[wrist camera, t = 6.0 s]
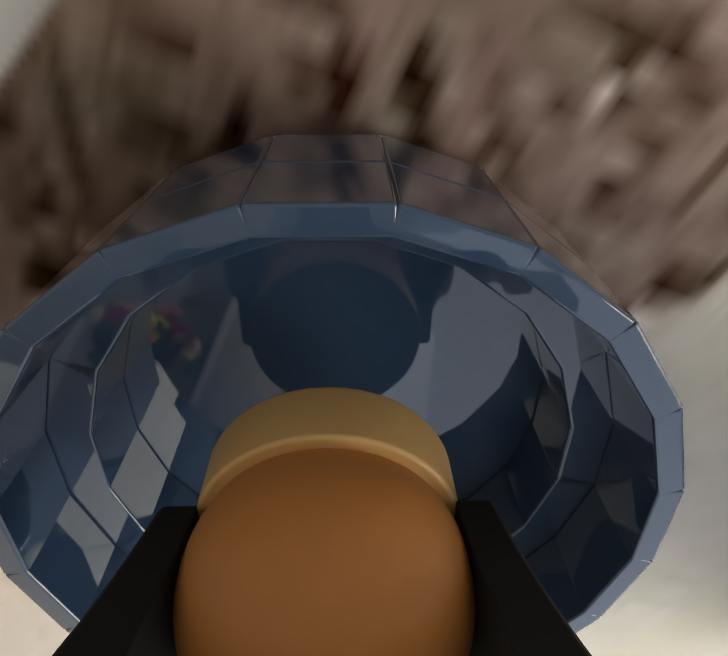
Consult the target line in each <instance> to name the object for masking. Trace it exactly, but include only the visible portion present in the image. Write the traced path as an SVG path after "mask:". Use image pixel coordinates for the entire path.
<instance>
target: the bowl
mask: <svg viewBox="0 0 728 656" xmlns="http://www.w3.org/2000/svg"><path fill="white" fill-rule="evenodd" d="M315 387H345V388H352V389H359V390H364V391H368V392H372V393H376V394H379V395H382V396H384V397H387V398H389V399H392V400H394V401H396V402H398V403H400V404H402V405H404V406H406V407H407V408H409V409H410V410H412V411H413V412H415V413H416V414H417V415H419V416H420V417H421V418H422V419H423V420H424V421H425V422H426V423H427V424H429V425H430V427H431V428H432V429H433V430H434V432H435V433H436V434H437V435H438V437H439V438H440V440H441V442H442V444H443V445H444V447H445V450H446V453H447V455H448V458H449V462H450V467H451V472H452V476H453V481H454V485H455V490H456V494H457V499H458V501H468V500H490V501H491V502H492V503H493V504H494V505H495V507H496V509H497V511H498V513H499V515H500V516H501V518H502V520H503V522H504V524H505V525H506V527H507V529H508V531H509V532H510V534H511V536H512V538H513V539H514V541H515V543H516V544H517V546H518V548H519V549H520V551H521V552H522V554H523V556H524V557H525V559H526V561H527V562H528V564H529V565H530V567H531V569H532V570H533V572H534V573H535V575H536V576H537V578H538V580H539V581H540V583H541V584H542V586H543V587H544V589H545V590H546V592H547V593H548V595H549V596H550V597H551V599H552V600H553V602H554V603H555V605H556V606H557V608H558V609H559V611H560V612H561V614H562V615H563V617H564V618H565V620H566V621H567V622H568V624H569V625H570V627H571V628H572V629H573V631H574V632H575V633H577V632H578V631H580V630H582V629H583V628H585V627H586V626H588V625H590V624H591V623H593V622H594V621H596V620H597V619H599V618H600V616H602V615H603V614H604V613H605V612H606V611H607V610H608V609H609V608H610V607H611V606H612V605H613V604H614V603H615V601H616V600H617V599H618V598H619V597H620V596H621V595H622V594H623V593H624V592H625V591H626V590H627V589H628V588H629V586H630V585H631V584H632V583H633V582H634V581H635V580H636V579H637V578H638V577H639V576H640V575H641V574H642V573H643V571H644V570H645V569H646V568H647V567H648V566H649V565H650V564H651V563H652V560H654V558H655V556H656V554H657V552H658V549H659V547H660V545H661V542H662V540H663V538H664V536H665V533H666V531H667V529H668V526H669V524H670V522H671V519H672V517H673V515H674V513H675V510H676V508H677V506H678V503H679V501H680V499H681V497H682V494H683V489H684V450H683V409H682V404H681V402H680V400H679V398H678V396H677V395H676V393H675V391H674V389H673V387H672V385H671V383H670V382H669V380H668V378H667V376H666V374H665V372H664V370H663V369H662V367H661V365H660V363H659V361H658V359H657V357H656V355H655V354H654V352H653V350H652V348H651V346H650V344H649V342H648V341H647V339H646V337H645V335H644V333H643V331H642V329H641V328H640V326H639V324H638V322H637V321H636V320H635V319H634V318H633V317H632V315H631V314H630V313H629V312H628V311H627V310H626V308H625V307H624V306H623V305H622V304H621V303H620V302H619V300H618V299H617V298H616V297H615V296H614V295H613V293H612V292H611V291H610V290H609V289H608V288H607V287H606V285H605V284H604V283H603V282H602V281H601V280H600V279H599V277H598V276H597V275H596V274H595V273H594V272H593V270H592V269H591V268H590V267H589V266H588V265H587V264H586V263H585V262H584V260H583V259H582V258H581V257H580V256H579V255H578V253H577V252H576V251H575V250H574V249H573V248H572V247H571V245H570V244H569V243H568V242H567V241H566V240H565V238H564V237H563V236H562V235H561V234H560V233H559V232H558V230H557V229H556V228H555V227H554V226H553V225H552V224H551V223H550V222H549V221H548V220H546V219H545V218H544V217H543V216H541V215H540V214H539V213H538V212H536V211H535V210H534V209H533V208H531V207H530V206H529V205H528V204H526V203H525V202H524V201H523V200H521V199H520V198H519V197H518V196H516V195H515V194H514V193H512V192H511V191H510V190H509V189H507V188H506V187H505V186H504V185H502V184H501V183H500V182H499V181H497V180H496V179H495V178H494V177H492V176H491V175H490V174H489V173H487V172H486V171H485V170H484V169H480V168H479V167H478V166H475V165H472V164H470V163H467V162H464V161H461V160H458V159H455V158H452V157H449V156H446V155H443V154H440V153H437V152H434V151H431V150H428V149H425V148H422V147H419V146H416V145H413V144H410V143H407V142H404V141H401V140H398V139H395V138H392V137H389V136H386V135H383V136H382V137H381V136H380V135H276V136H275V137H273V136H268V137H265V138H262V139H259V140H256V141H253V142H250V143H248V144H245V145H242V146H239V147H236V148H233V149H230V150H227V151H225V152H222V153H219V154H216V155H213V156H210V157H207V158H204V159H201V160H199V161H196V162H193V163H190V164H187V165H184V166H181V167H178V168H177V169H176V170H175V171H173V172H170V173H169V174H168V175H167V176H165V177H164V178H163V179H162V180H161V181H159V182H158V183H157V184H156V185H155V186H153V187H152V188H151V189H150V190H149V191H147V192H146V193H145V194H144V195H143V196H141V197H140V198H139V199H138V200H137V201H135V202H134V203H133V204H132V205H131V206H129V207H128V208H127V209H126V210H125V211H123V212H122V213H121V214H120V215H119V216H117V217H116V218H115V219H114V220H112V221H111V222H110V223H109V224H108V225H106V226H105V227H104V228H103V229H102V230H101V231H100V232H99V233H98V234H97V235H96V236H95V237H94V238H93V239H92V240H91V241H90V242H89V243H88V244H87V245H86V246H85V247H84V248H83V249H82V250H81V251H80V252H79V253H78V254H77V255H76V256H75V257H74V258H73V259H72V260H71V261H70V262H69V263H68V264H67V265H66V266H65V267H64V268H63V269H62V270H61V271H60V272H59V273H58V274H57V275H56V276H54V277H53V278H52V279H51V280H50V281H49V282H48V283H47V284H46V285H45V286H44V287H43V288H42V289H41V290H40V291H39V292H38V293H37V294H36V295H35V296H34V297H33V298H32V299H31V300H30V301H29V302H28V303H27V304H26V305H25V306H24V307H23V308H22V309H21V310H20V311H19V312H18V313H17V314H16V315H15V316H14V317H13V318H12V319H11V320H10V321H9V322H8V323H7V324H6V325H5V327H4V328H3V329H2V330H1V332H0V567H1V569H2V570H3V572H4V573H5V574H6V576H7V577H8V578H9V579H10V580H11V581H12V582H13V583H14V584H15V585H17V586H18V587H19V588H20V589H21V590H22V591H23V592H24V593H25V594H26V595H27V596H28V597H30V598H31V599H32V600H33V601H34V602H35V603H36V604H37V605H38V606H39V607H40V608H42V609H43V610H44V611H45V612H46V613H47V614H48V615H49V616H50V617H51V618H52V619H53V620H55V621H56V622H57V623H58V624H59V625H60V626H61V627H62V628H63V629H66V631H67V632H69V633H71V632H72V630H73V629H74V628H75V627H76V625H77V624H78V623H79V621H80V620H81V619H82V617H83V616H84V615H85V613H86V612H87V611H88V609H89V608H90V607H91V605H92V604H93V603H94V601H95V600H96V599H97V597H98V596H99V595H100V593H101V592H102V591H103V589H104V588H105V587H106V585H107V584H108V583H109V581H110V580H111V579H112V577H113V576H114V574H115V573H116V572H117V570H118V569H119V567H120V566H121V565H122V563H123V562H124V560H125V559H126V558H127V556H128V555H129V553H130V552H131V550H132V549H133V548H134V546H135V545H136V543H137V542H138V540H139V539H140V537H141V536H142V534H143V533H144V531H145V530H146V528H147V527H148V526H149V524H150V523H151V521H152V520H153V518H154V516H155V515H156V513H157V512H158V511H159V510H160V509H161V508H162V507H165V506H197V503H198V499H199V495H200V492H201V488H202V485H203V482H204V478H205V475H206V471H207V468H208V464H209V461H210V457H211V454H212V451H213V449H214V447H215V445H216V442H217V440H218V439H219V438H220V436H221V435H222V433H223V432H224V430H225V429H226V428H227V427H228V426H229V425H230V424H231V423H232V422H233V421H234V420H235V419H236V418H237V417H239V416H240V415H241V414H243V413H244V412H245V411H247V410H248V409H250V408H251V407H253V406H255V405H257V404H258V403H260V402H262V401H264V400H267V399H269V398H272V397H274V396H276V395H280V394H283V393H287V392H290V391H294V390H300V389H306V388H315Z"/></svg>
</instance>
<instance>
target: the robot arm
mask: <svg viewBox="0 0 728 656" xmlns="http://www.w3.org/2000/svg"><path fill="white" fill-rule="evenodd" d="M199 519H200V518H199V514H198V509H197V506H165V507H162V508H161V509H160V510H159V511H158V512H157V513H156V515H155V516H154V518H153V520H152V521H151V523H150V524H149V526H148V527H147V528H146V530H145V531H144V533H143V534H142V536H141V537H140V539H139V540H138V542H137V543H136V545H135V546H134V548H133V549H132V550H131V552H130V553H129V555H128V556H127V558H126V559H125V560H124V562H123V563H122V565H121V566H120V567H119V569H118V570H117V572H116V573H115V574H114V576H113V577H112V579H111V580H110V581H109V583H108V584H107V585H106V587H105V588H104V589H103V591H102V592H101V593H100V595H99V596H98V597H97V599H96V600H95V601H94V603H93V604H92V605H91V607H90V608H89V609H88V611H87V612H86V613H85V615H84V616H83V617H82V619H81V620H80V621H79V623H78V624H77V625H76V627H75V628H74V629H73V630H72V632H71V633H70V634H69V635H68V637H67V638H66V639H65V640H64V642H63V643H62V644H61V645H60V646H59V648H58V649H57V650H56V651H55V653H54V654H53V655H52V656H177V652H176V647H175V642H174V632H173V601H174V592H175V584H176V580H177V575H178V571H179V566H180V562H181V558H182V555H183V553H184V550H185V547H186V544H187V542H188V540H189V538H190V536H191V534H192V532H193V530H194V528H195V526H196V524H197V522H198V520H199ZM454 519H455V521H456V523H457V525H458V527H459V529H460V531H461V533H462V536H463V538H464V542H465V545H466V549H467V552H468V557H469V562H470V567H471V572H472V577H473V585H474V594H475V608H476V617H475V628H474V635H473V642H472V646H471V650H470V653H469V656H592V655H591V654H590V653H589V651H588V650H587V649H586V647H585V646H584V645H583V643H582V642H581V641H580V639H579V638H578V636H577V635H576V634H575V632H574V631H573V629H572V628H571V627H570V625H569V624H568V622H567V621H566V620H565V618H564V617H563V615H562V614H561V612H560V611H559V609H558V608H557V606H556V605H555V603H554V602H553V600H552V599H551V597H550V596H549V595H548V593H547V592H546V590H545V589H544V587H543V586H542V584H541V583H540V581H539V580H538V578H537V576H536V575H535V573H534V572H533V570H532V569H531V567H530V565H529V564H528V562H527V561H526V559H525V557H524V556H523V554H522V552H521V551H520V549H519V548H518V546H517V544H516V543H515V541H514V539H513V538H512V536H511V534H510V532H509V531H508V529H507V527H506V525H505V524H504V522H503V520H502V518H501V516H500V515H499V513H498V511H497V509H496V507H495V505H494V504H493V503H492V502H491V501H490V500H468V501H456V507H455V515H454Z"/></svg>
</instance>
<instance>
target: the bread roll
mask: <svg viewBox="0 0 728 656" xmlns="http://www.w3.org/2000/svg"><path fill="white" fill-rule="evenodd" d="M456 501H458V499H457V494H456V490H455V485H454V481H453V476H452V472H451V467H450V462H449V458H448V455H447V453H446V450H445V447H444V445H443V444H442V442H441V440H440V438H439V437H438V435H437V434H436V433H435V432H434V430H433V429H432V428H431V427H430V425H429V424H427V423H426V422H425V421H424V420H423V419H422V418H421V417H420V416H419V415H417V414H416V413H415V412H413V411H412V410H410V409H409V408H407V407H406V406H404V405H402V404H400V403H398V402H396V401H394V400H392V399H389V398H387V397H384V396H382V395H379V394H376V393H372V392H368V391H364V390H359V389H352V388H345V387H315V388H306V389H300V390H294V391H290V392H287V393H283V394H280V395H276V396H274V397H272V398H269V399H267V400H264V401H262V402H260V403H258V404H257V405H255V406H253V407H251V408H250V409H248V410H247V411H245V412H244V413H243V414H241V415H240V416H239V417H237V418H236V419H235V420H234V421H233V422H232V423H231V424H230V425H229V426H228V427H227V428H226V429H225V430H224V432H223V433H222V435H221V436H220V438H219V439H218V440H217V442H216V445H215V447H214V449H213V451H212V454H211V457H210V461H209V464H208V468H207V471H206V475H205V478H204V482H203V485H202V488H201V492H200V495H199V499H198V503H197V509H198V514H199V518H200V519H199V520H198V522H197V524H196V526H195V528H194V530H193V532H192V534H191V536H190V538H189V540H188V542H187V544H186V547H185V550H184V553H183V555H182V558H181V562H180V566H179V571H178V575H177V580H176V584H175V592H174V601H173V632H174V642H175V647H176V652H177V656H469V653H470V650H471V646H472V642H473V635H474V628H475V617H476V608H475V594H474V585H473V577H472V572H471V567H470V562H469V557H468V552H467V549H466V545H465V542H464V538H463V536H462V533H461V531H460V529H459V527H458V525H457V523H456V521H455V519H454V515H455V507H456Z"/></svg>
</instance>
